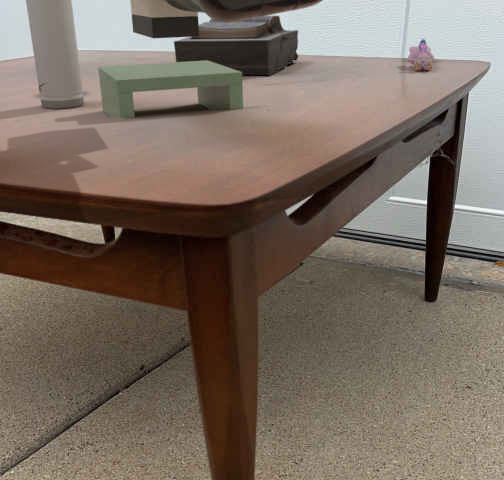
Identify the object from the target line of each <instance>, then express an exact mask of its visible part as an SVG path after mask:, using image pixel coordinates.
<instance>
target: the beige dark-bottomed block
mask: <svg viewBox="0 0 504 480" xmlns="http://www.w3.org/2000/svg"><path fill="white" fill-rule="evenodd" d="M129 2H130V11H131V22H132V23H131V24H132V25H131V26H132V32H133V33H134V34H138V35H141V36H143V37H144V36H145V37H148V38H151V39H173V38H188V37H196V36H199V25H200V24H199V12H192V11H184V10H180V9H177V8H175V7H173V6H171V5H170V4H168V3H167V2H166V1H165V0H130V1H129Z"/></svg>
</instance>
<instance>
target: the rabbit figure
mask: <svg viewBox="0 0 504 480" xmlns="http://www.w3.org/2000/svg"><path fill="white" fill-rule="evenodd" d="M408 50H409V53H410V54H409V55H408V56H407V59H405V62H406V63H410V64H411V65H412V66H413V69H414V71H415V72H416V73H417V72H419V71H425V70H429V71H432V70H433V62H435V63H439V62H440V59H438V58H435V57H434V55H433V54H432V52H431V51H432V49H431V47H430V46H428V45H427V41H426V39H425V38H422V39H421V40H420V42H419V44H418V45H417V46H415V45H412V46H410V47H409V49H408ZM417 70H418V71H417Z"/></svg>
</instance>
